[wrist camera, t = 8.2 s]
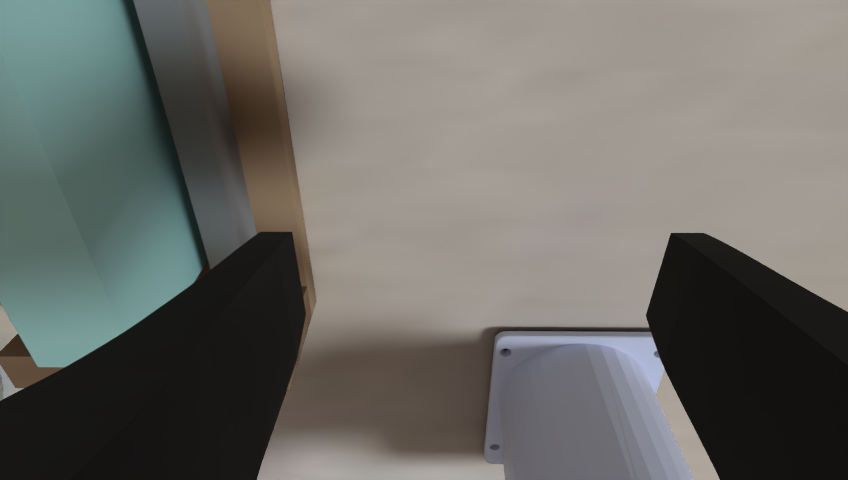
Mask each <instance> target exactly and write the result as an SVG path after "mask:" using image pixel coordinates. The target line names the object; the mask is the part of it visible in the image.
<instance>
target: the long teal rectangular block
mask: <svg viewBox="0 0 848 480" xmlns="http://www.w3.org/2000/svg"><path fill="white" fill-rule="evenodd" d="M207 261H208V258H207V255H206V251H205V248H204V244H203V241H202V237H201V234H200V230H199V227H198V223H197V220H196V216H195V213H194V209H193V206H192V203H191V199H190V196H189V192H188V189H187V185H186V182H185V178H184V175H183V171H182V168H181V164H180V161H179V157H178V154H177V150H176V147H175V143H174V140H173V136H172V133H171V129H170V126H169V122H168V119H167V115H166V112H165V109H164V105H163V102H162V98H161V95H160V91H159V88H158V84H157V81H156V77H155V74H154V70H153V67H152V63H151V60H150V56H149V53H148V49H147V46H146V42H145V39H144V35H143V32H142V28H141V25H140V21H139V18H138V15H137V11H136V8H135V4H134V1H133V0H0V303H1V305H2V307H3V309H4V310H5V312H6V314H7V315H8V317H9V319H10V320H11V322H12V324H13V326H14V327H15V329H16V331H17V332H18V334H19V336H20V337H21V339H22V341H23V343H24V344H25V346H26V348H27V349H28V351H29V353H30V354H31V356H32V358H33V359H34V361H35V363H36V365H37V366H38V367H66V366H68V365H70V364H72V363H73V362H75V361H77V360H78V359H80V358H82V357H83V356H85V355H87V354H89V353H90V352H92V351H94V350H95V349H97V348H99V347H100V346H102V345H104V344H106V343H107V342H109V341H110V340H112V339H113V338H115V337H117V336H118V335H120V334H121V333H123V332H125V331H126V330H128V329H129V328H131V327H132V326H134V325H135V324H137V323H138V322H140V321H141V320H142V319H144V318H145V317H147V316H148V315H150V314H151V313H152V312H154V311H155V310H157V309H158V308H159V307H161V306H162V305H164V304H165V303H167V302H168V301H169V300H171V299H172V298H174V297H175V296H177V295H178V294H179V293H181V292H182V291H184V290H185V289H186V288H188V287H189V286H190V285H191V284H193V283H194V281H195V280H196V278H197V277H198V275H199V274H200V272H201V270H202V269H203V267H204V266H205V264H206V263H207Z"/></svg>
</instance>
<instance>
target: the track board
mask: <svg viewBox="0 0 848 480" xmlns="http://www.w3.org/2000/svg"><path fill="white" fill-rule="evenodd" d="M133 1H134V4H135V8H136V11H137V15H138V18H139V21H140V25H141V28H142V32H143V35H144V39H145V42H146V46H147V49H148V53H149V56H150V60H151V63H152V67H153V70H154V74H155V77H156V81H157V84H158V88H159V91H160V95H161V98H162V102H163V105H164V109H165V112H166V115H167V119H168V122H169V126H170V129H171V133H172V136H173V140H174V143H175V147H176V150H177V154H178V157H179V161H180V164H181V168H182V171H183V175H184V178H185V182H186V185H187V189H188V192H189V196H190V199H191V203H192V206H193V209H194V213H195V216H196V220H197V223H198V227H199V230H200V234H201V237H202V241H203V244H204V248H205V251H206V255H207V258H208V261H207V263H206V264H205V266H204V267H203V269H202V270H201V272H200V274H199V275H198V277H197V278H196V280H195V281H197V280H198V279H199V278H201V277H202V276H203V275H204V274H206V273H207V272H208V271H210V270H211V269H212V268H214V267H215V266H216V265H217V264H219V263H220V262H221V261H222V260H224V259H225V258H226V257H228V256H229V255H230V254H231V253H233V252H234V251H235V250H236V249H238V248H239V247H240V246H242V245H243V244H244V243H245V242H247V241H248V240H249V239H251V238H252V237H254V236H255V235H256V234H258V233H259V232H292V234H293V240H294V246H295V251H296V257H297V263H298V269H299V275H300V281H301V286H302V292H303V298H304V304H305V310H306V317H305V323H304V328H303V333H302V339H301V343H300V348H299V353H298V357H297V361H296V364H295V367H294V370H293V373H292V376H291V379H290V382H289V385H288V388H287V390H290V388H291V384H292V381H293V378H294V374H295V371H296V368H297V364H298V361H299V358H300V354H301V351H302V347H303V344H304V341H305V337H306V334H307V331H308V327H309V324H310V321H311V317H312V314H313V310H314V307H315V304H316V296H315V289H314V283H313V276H312V270H311V263H310V257H309V250H308V244H307V237H306V231H305V224H304V218H303V211H302V205H301V198H300V192H299V186H298V179H297V173H296V166H295V160H294V153H293V147H292V140H291V134H290V127H289V121H288V114H287V108H286V101H285V95H284V88H283V82H282V75H281V69H280V63H279V56H278V50H277V43H276V37H275V30H274V24H273V17H272V11H271V4H270V0H133ZM195 281H194V282H195ZM0 364H1V366H2V367H3V369H4V371H5V372H6V374H7V375H8V377H9V378H10V380H11V381H12V383H13V385H14V386H15V388H26V387H28V386H30V385H32V384H34V383H36V382H38V381H40V380H42V379H44V378H46V377H48V376H49V375H51V374H53V373H55V372H57V371H59V370H61V369H63V368H64V367H38V366H37V365H36V363H35V361H34V359H33V358H32V356H31V354H30V353H29V351H28V349H27V348H26V346H25V344H24V343H23V341H22V339H21V337H20V336H19V334H17V335H16V336H15V337H14V338H13V339H12V340H11V341H10V342H9V343H8V344H7V345H6V346H5V347H4V348H3V349H2V350H1V351H0Z"/></svg>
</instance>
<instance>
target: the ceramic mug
mask: <svg viewBox="0 0 848 480" xmlns="http://www.w3.org/2000/svg"><path fill="white" fill-rule="evenodd" d="M1 400H3V385H2V378H1V375H0V401H1Z"/></svg>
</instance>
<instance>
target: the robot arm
mask: <svg viewBox="0 0 848 480" xmlns="http://www.w3.org/2000/svg"><path fill="white" fill-rule="evenodd" d="M305 317H306V310H305V304H304V298H303V292H302V286H301V281H300V275H299V269H298V263H297V257H296V251H295V246H294V240H293V234H292V232H259V233H258V234H256V235H255V236H254V237H252V238H251V239H249V240H248V241H247V242H245V243H244V244H243V245H242V246H240V247H239V248H238V249H236V250H235V251H234V252H233V253H231V254H230V255H229V256H228V257H226V258H225V259H224V260H222V261H221V262H220V263H219V264H217V265H216V266H215V267H214V268H212V269H211V270H210V271H208V272H207V273H206V274H204V275H203V276H202V277H201V278H199V279H198V280H197V281H195V282H194V283H193V284H191V285H190V286H189V287H188V288H186V289H185V290H184V291H182V292H181V293H179V294H178V295H177V296H175V297H174V298H172V299H171V300H169V301H168V302H167V303H165V304H164V305H162V306H161V307H159V308H158V309H157V310H155V311H154V312H152V313H151V314H150V315H148V316H147V317H145V318H144V319H142V320H141V321H140V322H138V323H137V324H135V325H134V326H132V327H131V328H129V329H128V330H126V331H125V332H123V333H121V334H120V335H118V336H117V337H115V338H113V339H112V340H110V341H109V342H107V343H106V344H104V345H102V346H100V347H99V348H97V349H95V350H94V351H92V352H90V353H89V354H87V355H85V356H83V357H82V358H80V359H78V360H77V361H75V362H73V363H72V364H70V365H68V366H66V367H64V368H63V369H61V370H59V371H57V372H55V373H53V374H51V375H49V376H48V377H46V378H44V379H42V380H40V381H38V382H36V383H34V384H32V385H30V386H28V387H26V388H24V389H22V390H20V391H18V392H17V393H15V394H13V395H11V396H9V397H7V398H5V399H3V400H1V401H0V480H257V476H258V473H259V470H260V466H261V463H262V460H263V457H264V454H265V452H266V449H267V446H268V443H269V440H270V437H271V434H272V431H273V428H274V426H275V423H276V420H277V417H278V414H279V411H280V408H281V405H282V402H283V400H284V397H285V394H286V391H287V388H288V385H289V382H290V379H291V376H292V373H293V370H294V367H295V364H296V361H297V357H298V353H299V348H300V343H301V339H302V333H303V328H304V323H305ZM646 317H647V321H648V324H649V327H650V330H651V332H570V331H504V332H501V333H498V334H497V335H496V337H495V341H494V351H493V362H492V372H491V383H490V393H489V404H488V414H487V425H486V435H485V445H484V459H485V461H486V462H488V463H491V464H503V465H504V473H505V480H694V478H693V476H692V474H691V471H690V469H689V467H688V465H687V463H686V460H685V458H684V456H683V454H682V452H681V450H680V447H679V445H678V443H677V441H676V439H675V437H674V434H673V432H672V430H671V428H670V426H669V424H668V421H667V419H666V417H665V415H664V413H663V410H662V408H661V406H660V404H659V402H658V400H657V397H656V395H655V394H656V392H657V389H658V386H659V383H660V380H661V378H662V375H663V372H664V369H665V371H666V373H667V375H668V377H669V379H670V381H671V383H672V385H673V387H674V389H675V391H676V393H677V395H678V397H679V399H680V401H681V403H682V405H683V407H684V409H685V411H686V413H687V415H688V417H689V418H690V420H691V422H692V424H693V426H694V428H695V430H696V432H697V434H698V436H699V438H700V440H701V442H702V444H703V446H704V448H705V450H706V452H707V454H708V456H709V458H710V460H711V462H712V464H713V466H714V468H715V470H716V472H717V474H718V476H719V479H720V480H848V312H847V311H845V310H843V309H841V308H839V307H838V306H836V305H834V304H832V303H830V302H828V301H827V300H825V299H823V298H821V297H819V296H817V295H816V294H814V293H812V292H810V291H809V290H807V289H805V288H803V287H801V286H800V285H798V284H796V283H794V282H793V281H791V280H789V279H787V278H786V277H784V276H782V275H780V274H779V273H777V272H775V271H774V270H772V269H770V268H768V267H767V266H765V265H763V264H761V263H760V262H758V261H756V260H754V259H753V258H751V257H749V256H747V255H746V254H744V253H742V252H740V251H738V250H737V249H735V248H733V247H731V246H729V245H727V244H725V243H724V242H722V241H720V240H718V239H716V238H714V237H711V236H709V235H707V234H705V233H671V235H670V238H669V242H668V245H667V248H666V251H665V255H664V258H663V261H662V265H661V268H660V271H659V274H658V278H657V281H656V284H655V287H654V291H653V294H652V297H651V301H650V304H649V307H648V310H647V314H646ZM506 348H507V349H508V350H505V351H504V350H502V349H506Z"/></svg>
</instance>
